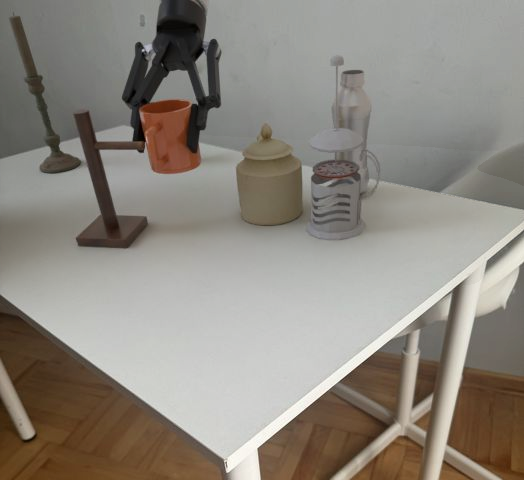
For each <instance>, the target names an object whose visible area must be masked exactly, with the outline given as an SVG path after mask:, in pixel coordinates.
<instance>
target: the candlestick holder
mask: <svg viewBox="0 0 524 480" xmlns="http://www.w3.org/2000/svg"><path fill="white" fill-rule="evenodd" d="M8 21H9V24H10V27H11V31H12V33H13V37H14V40H15V43H16V47H17V50H18V52H19V56H20V59H21V62H22V65H23V68H24V72H25V74H26V76H25V77H23V81H24V83H26V84H27V85H28V87H27V91H28V92H29V94H31V95H33V96H34V97H35V103H36V109H37V111H38V112H39V114H40V116H41V120H42V124H43V126H44V128H45V135H44V136H43V141H44V143H45V144H46V146H47V147H49V149H50V154H49V156H47V157H45V159H44V160H43V162H42V163H40V165H39V170H40V171H41V172H42V173H45V174H57V173H64V172H68V171H71V170H73V169H75V168H77V167H79V166H80V165H81V160H80V158H79V157H77V156H74V155H72V154H70V153H65V152H63V151H62V150H61V147H60V144H61V136H60V135H59V133H56V132H55V131H54V129H53V127H52V122H51V121H52V120H51V119H50V116H49V112H48V104H47V103H46V101H45V98H44V96H43V94H44V92H45V91H46V88H45V86H44V84H43V83H42V82H43V79H44V77H43V75H42V74H39V73H38V71H37V68H36V64H35V60H34V58H33V54H32V50H31V48H30V44H29V41H28V38H27V35H26V34H27V33H26V31H25V28H24V25H23V22H22V18H21V16H20V15H15V11H12V16H9V17H8Z"/></svg>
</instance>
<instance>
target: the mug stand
mask: <svg viewBox="0 0 524 480" xmlns="http://www.w3.org/2000/svg"><path fill="white" fill-rule="evenodd" d="M72 117H73V119H74V124H75V127H76V131H77V135H78V137H79V141H80V144H81V148H82V151H83V156H84V159H85V162H86V167H87V169H88V173H89V177H90V180H91V183H92V187H93V191H94V195H95V199H96V203H97V205H98V208H99V212H100V214H99V215H98V216H97V217H96V218H95V219H94V220H93V221H92V222H91V223H90V224H89V225H88V226H86V227H85V228H84V229H83V230H82V231H81V232H80V233H79V234H78V235H77V236H76V237H75V240H76V243H77V247H96V248H97V247H98V248H116V249H117V248H118V249H127V248H129V246H130V245H131V244H132V243H133V242H134V241H135V240H136V239H137V238H138V237H139V235H140V234H141V233H142V232H143V231H144V230H145V228H146V227H148V225H149V221H148V216H147V215H123V214H122V215H121V214H117V212H116V208H115V205H114V201H113V197H112V193H111V189H110V185H109V181H108V178H107V174H106V170H105V166H104V162H103V159H102V155H101V151H137V150H144V151H145V149H146V142H145V143H144V142H143V141H132V140H130V141H127V140H126V141H125V140H123V141H122V140H121V141H117V140H115V141H109V140H108V141H101V140H100V141H98V139H97V136H96V132H95V128H94V124H93V119H92V116H91V111H90V109H87V108H81V109H76V110H74V111H72Z"/></svg>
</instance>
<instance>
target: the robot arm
mask: <svg viewBox="0 0 524 480" xmlns="http://www.w3.org/2000/svg"><path fill="white" fill-rule="evenodd" d="M209 2H210V0H159V6H158V11H157V18H156V25H155V26H156V27H155V37H154V38H153V40H152V42H151V43H148V44H143V43H142V42H141V41H136V42H135V44H134V58H133V60H132V64H131V67H130V70H129V73H128V77H127V79H126V83H125V86H124V89H123V92H122V94H121V100H122V101H123V102H124V104H125V105H126V106H127V107H128V109H130V110H131V115H130V120H129V125H130V127H132V129H133V132H132V138H131V139H132V140H131V141H143V142H144V143H145V144H146V142H145V137H144V132H143V127H142V123H141V118H140V113H139V108H140V107H142V106H143V105H145V104H148V103H151V102H152V100H153V97H154V96H155V94H156V92H157V91H158V89H159V87H160V86H161V84H162V83H163V80H164V79H165V78H167V77H168V76H169V74H170V72H175V71H182V72H186V71H187V74H188V77H189V80H190V84H191V87H192V90H193V93H194V96H195V100H196V102H197V103H193V104H192V106H191V113H190V121H189V128H188V136H187V143H186V145H187V146H188V148H189V149H190V151H191V152H192V153H197V150H198V142H199V143H200V134H201V131H205V130H206V129H207V123H208V115H209V114H208V113H209V111H210V110H211V109H220V108H221V107H222V97H221V80H220V78H221V77H220V61H221V60H220V59H221V56H222V53H223V51H222V49H221V47H220V44H219V42H218V40H217V39H216V38H211V39H210V41H204V40H205V34H206V26H207V17H208V10H209ZM203 54H205V57H206V72H207V90H208V95H206V93H205V90H204V86H203V84H202V80H201V77H200V74H199V70H198V67H197V63H196V62H197V61H198V60H199V59H200V57H201V56H202V55H203ZM153 55H154V56H153ZM152 56H153V58H152ZM150 62H151V66H150V67H149V63H150ZM148 68H149V69H148ZM136 151H137V153H139V154H144V153H145V149H144V150H136Z"/></svg>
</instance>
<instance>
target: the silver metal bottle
mask: <svg viewBox="0 0 524 480" xmlns="http://www.w3.org/2000/svg"><path fill="white" fill-rule="evenodd" d="M365 84H366V83H365V70H362V69H347V70H343V71H341V72H340V82H339V85H340V87H341V89H340V91H339V92H337V128H343V129H349V130H352V131H353V132H355V133H357V134H358V135H360V136H362V137H363V143H362V145H361V146H359V147H358V148H356V149H354V150H351V151H346V152H337V159H338V160H339V159H340V160H341V159H342V160H349V161H352V162H355V163H356V164H358V165H359V170H358V173H359V174H360V175H361V182H360V194H363V193H364V192H365V191H366V189H368V187H369V181H370V172H369V166H368V157H367V156H365V155H364V154H363V159H362V161H360V154H361V151H362V150H363V149H367V145H368V141H367V140H368V133H369V125H370V120H371V113H372V102H371V99H370V97H369V95H368V94H367V93H366V91H365V89H364V87H363V86H364V85H365ZM331 116H332V123H333V124H332V125H333V128H336V97H335V98H334V100H333V101H332V105H331ZM363 153H366V154H367V153H368V152H367V151H364V152H363ZM367 155H368V154H367ZM333 160H335V158H334V159H333ZM341 179H348V180H350V181H352V182H354V183H356V181H355V180H354V179H353V178H352V177H350V176H349V177H345V178H334V179H332V180H331V184H332V183H334V182H336V181H338V180H341ZM347 185H350V184H347V183H343V184H338V185H336V186H334V187H341V186H347ZM347 195H348V194H347Z"/></svg>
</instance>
